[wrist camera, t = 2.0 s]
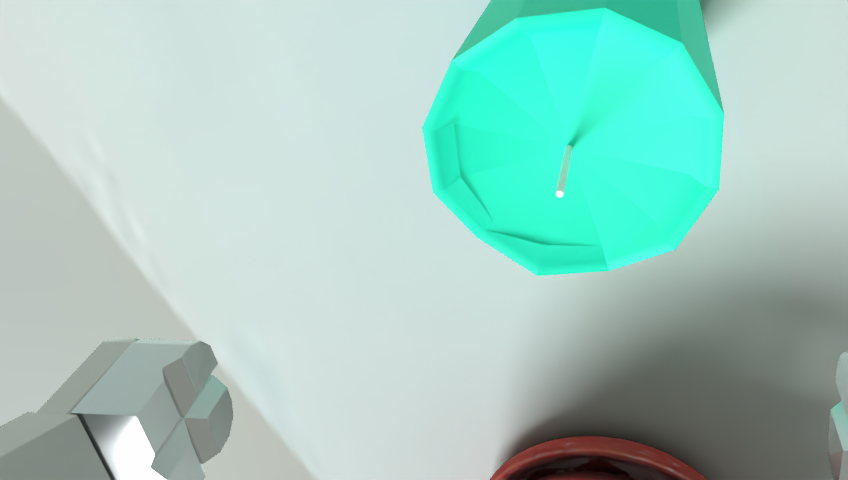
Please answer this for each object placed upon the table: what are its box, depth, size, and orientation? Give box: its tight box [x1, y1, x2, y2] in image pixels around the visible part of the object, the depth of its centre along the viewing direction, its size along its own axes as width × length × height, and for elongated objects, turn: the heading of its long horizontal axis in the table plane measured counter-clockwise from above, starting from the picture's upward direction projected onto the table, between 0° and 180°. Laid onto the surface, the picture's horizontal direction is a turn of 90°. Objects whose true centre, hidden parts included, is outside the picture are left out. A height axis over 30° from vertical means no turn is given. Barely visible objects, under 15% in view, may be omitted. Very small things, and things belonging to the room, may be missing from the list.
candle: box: [422, 0, 724, 276], centre depth 19 cm, size 6×6×12 cm
